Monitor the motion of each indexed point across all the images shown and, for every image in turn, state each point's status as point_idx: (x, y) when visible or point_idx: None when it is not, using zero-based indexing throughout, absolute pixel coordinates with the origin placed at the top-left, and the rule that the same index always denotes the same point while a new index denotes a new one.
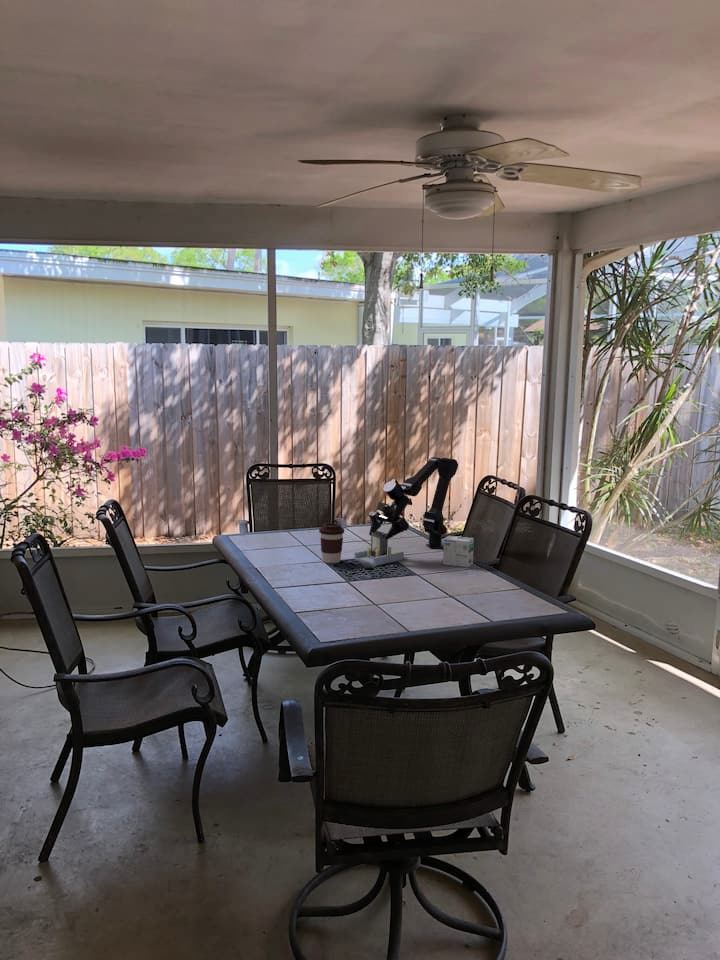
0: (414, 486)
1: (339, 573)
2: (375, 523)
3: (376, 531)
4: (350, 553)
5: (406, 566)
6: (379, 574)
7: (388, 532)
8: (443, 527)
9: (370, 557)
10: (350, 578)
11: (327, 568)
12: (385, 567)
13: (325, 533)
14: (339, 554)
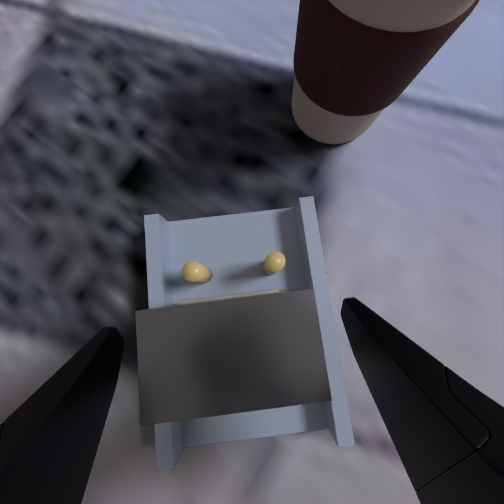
0: None
1: (157, 43)
2: (476, 485)
3: (314, 370)
4: (419, 264)
5: (58, 354)
6: (43, 161)
7: (55, 394)
8: None
9: (260, 272)
10: (76, 40)
11: (244, 43)
12: (110, 251)
13: None
14: (299, 93)
